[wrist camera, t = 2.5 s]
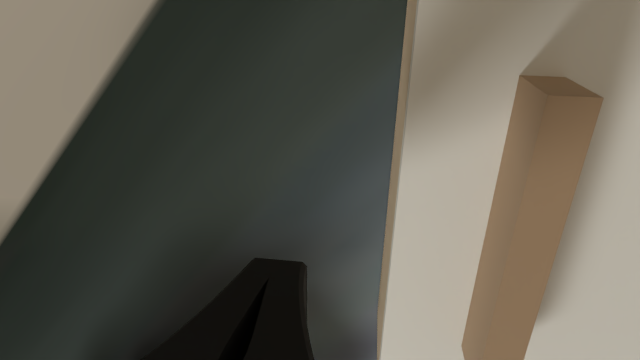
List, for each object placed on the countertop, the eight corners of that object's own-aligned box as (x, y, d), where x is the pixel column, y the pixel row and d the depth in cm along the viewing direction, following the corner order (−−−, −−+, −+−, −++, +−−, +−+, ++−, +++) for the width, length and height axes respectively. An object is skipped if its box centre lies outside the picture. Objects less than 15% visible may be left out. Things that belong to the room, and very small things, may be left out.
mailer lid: (684, 415, 17) (737, 491, 14) (377, 379, 18) (376, 444, 16) (945, -43, 10) (1135, -50, 8) (422, -50, 11) (434, -57, 9)
